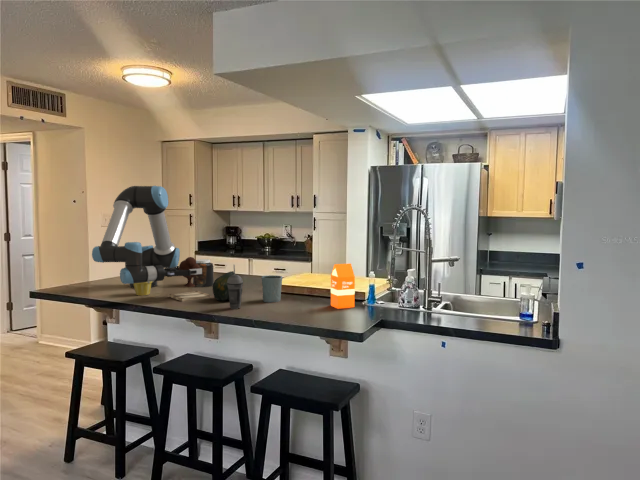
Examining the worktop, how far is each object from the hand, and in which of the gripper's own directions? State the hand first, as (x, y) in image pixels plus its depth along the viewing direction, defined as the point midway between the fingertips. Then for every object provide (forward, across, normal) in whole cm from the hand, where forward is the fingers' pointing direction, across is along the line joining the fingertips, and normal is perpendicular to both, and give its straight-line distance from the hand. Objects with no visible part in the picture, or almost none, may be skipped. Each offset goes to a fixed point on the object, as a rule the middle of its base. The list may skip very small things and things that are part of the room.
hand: (196, 270), depth 249 cm
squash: (+8, +17, -14) cm, 24 cm away
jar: (+18, -30, -14) cm, 38 cm away
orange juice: (+42, +65, -14) cm, 79 cm away
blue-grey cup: (+24, +33, -14) cm, 43 cm away
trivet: (-4, 0, -14) cm, 14 cm away
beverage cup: (+1, +37, -14) cm, 40 cm away
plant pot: (-20, -23, -14) cm, 33 cm away
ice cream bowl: (-4, 0, -8) cm, 9 cm away
